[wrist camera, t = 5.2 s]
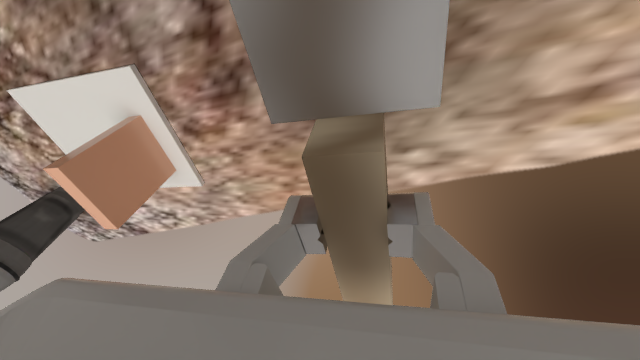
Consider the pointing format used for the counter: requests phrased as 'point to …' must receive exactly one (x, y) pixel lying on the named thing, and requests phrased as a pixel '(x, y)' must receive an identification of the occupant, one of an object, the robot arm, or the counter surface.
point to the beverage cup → (33, 232)
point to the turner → (347, 108)
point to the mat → (103, 113)
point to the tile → (114, 171)
